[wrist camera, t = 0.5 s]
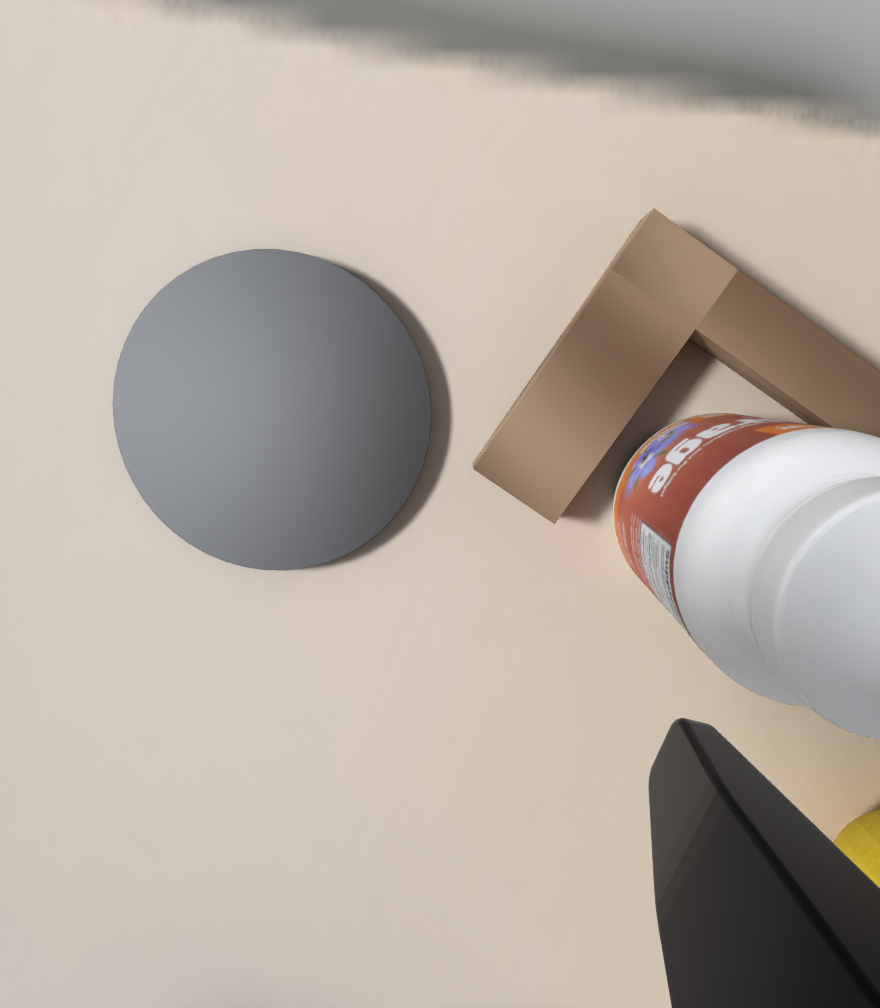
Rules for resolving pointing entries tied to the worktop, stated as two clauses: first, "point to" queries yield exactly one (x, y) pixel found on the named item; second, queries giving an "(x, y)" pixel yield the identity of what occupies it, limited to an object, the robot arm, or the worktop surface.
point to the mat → (271, 409)
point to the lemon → (863, 844)
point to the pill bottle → (765, 554)
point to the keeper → (664, 363)
